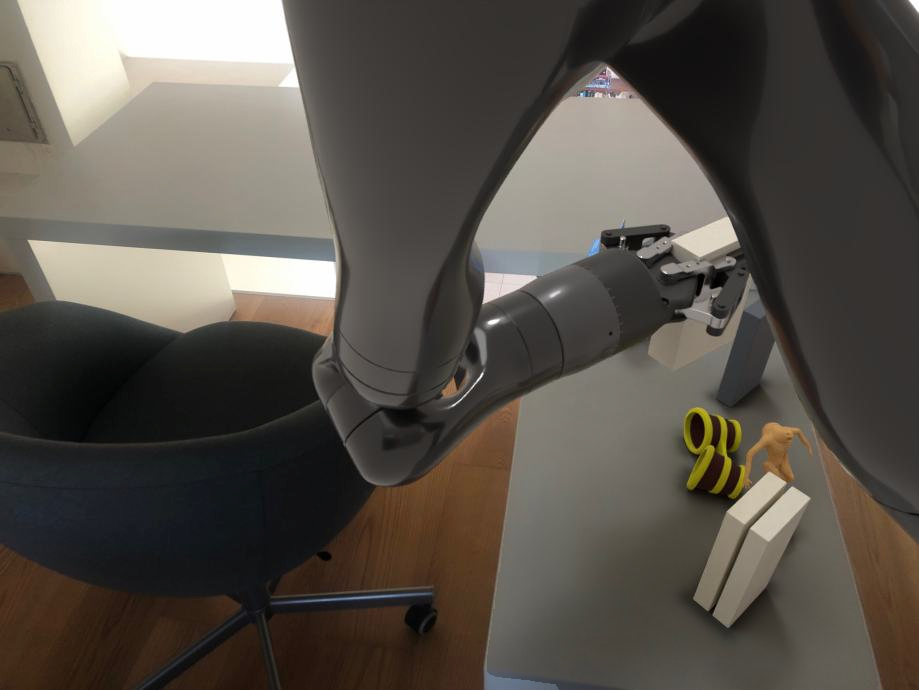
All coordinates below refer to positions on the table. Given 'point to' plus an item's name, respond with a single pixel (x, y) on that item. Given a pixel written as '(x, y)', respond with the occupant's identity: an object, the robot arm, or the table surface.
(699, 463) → the opera glasses
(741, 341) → the grey rectangular blocks
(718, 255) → the thin white book
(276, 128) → the table surface
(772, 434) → the figurine
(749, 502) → the white books
